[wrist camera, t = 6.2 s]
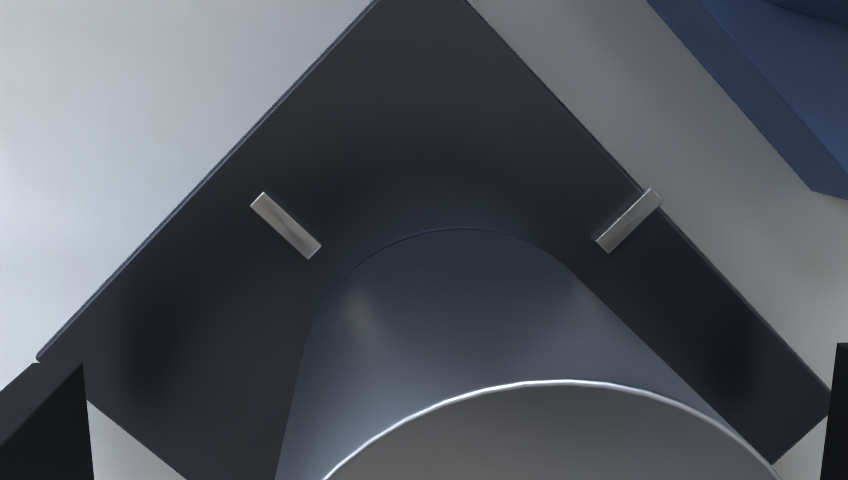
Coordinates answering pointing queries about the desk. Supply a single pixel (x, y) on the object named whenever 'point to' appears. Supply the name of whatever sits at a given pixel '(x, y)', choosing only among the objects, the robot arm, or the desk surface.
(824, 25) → the block
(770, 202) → the desk surface
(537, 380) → the dial
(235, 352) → the dial panel
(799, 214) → the desk surface
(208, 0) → the desk surface
